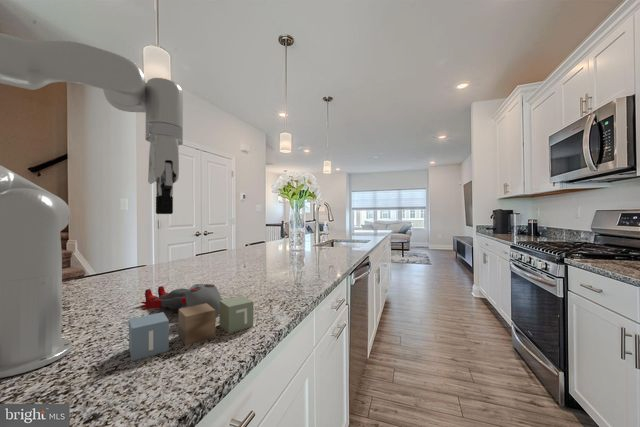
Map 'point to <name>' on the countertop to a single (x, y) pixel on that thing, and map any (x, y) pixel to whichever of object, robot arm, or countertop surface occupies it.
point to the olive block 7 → (235, 313)
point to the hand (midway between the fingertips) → (164, 213)
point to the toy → (184, 297)
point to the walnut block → (196, 323)
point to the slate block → (148, 335)
